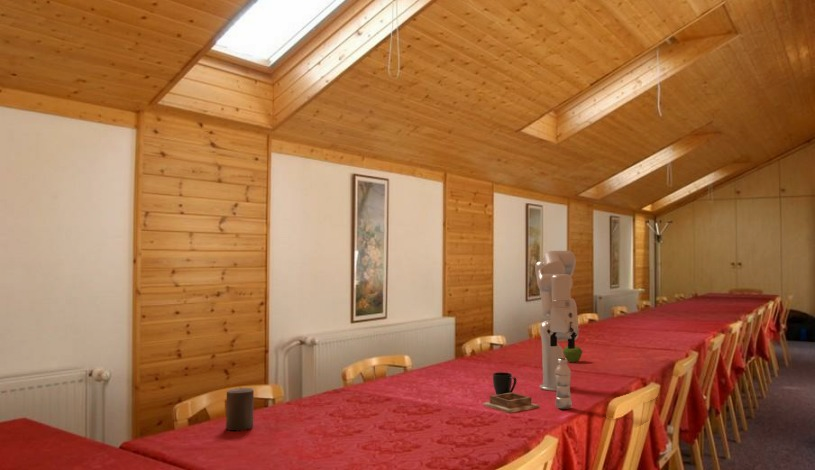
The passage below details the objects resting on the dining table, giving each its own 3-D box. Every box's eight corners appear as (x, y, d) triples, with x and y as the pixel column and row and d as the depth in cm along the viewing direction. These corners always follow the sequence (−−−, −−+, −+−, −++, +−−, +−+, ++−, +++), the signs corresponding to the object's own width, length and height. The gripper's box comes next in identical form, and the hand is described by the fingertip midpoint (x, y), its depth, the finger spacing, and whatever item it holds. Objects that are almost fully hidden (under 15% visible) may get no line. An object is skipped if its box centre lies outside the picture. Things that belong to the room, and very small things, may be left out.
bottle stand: (512, 400, 266) (512, 390, 266) (538, 407, 252) (538, 397, 253) (483, 405, 258) (483, 395, 258) (508, 413, 244) (508, 402, 244)
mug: (508, 399, 267) (508, 377, 268) (489, 395, 277) (489, 373, 277) (522, 397, 272) (521, 375, 272) (502, 392, 282) (502, 371, 282)
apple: (564, 363, 358) (563, 346, 358) (562, 360, 368) (562, 343, 369) (583, 363, 356) (582, 346, 356) (581, 360, 366) (580, 343, 367)
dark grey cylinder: (239, 432, 221) (239, 390, 222) (220, 429, 226) (220, 387, 227) (259, 426, 229) (259, 385, 230) (240, 423, 234) (241, 383, 235)
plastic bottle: (572, 407, 252) (571, 357, 253) (571, 411, 246) (570, 360, 247) (556, 406, 254) (555, 357, 255) (554, 410, 248) (553, 359, 249)
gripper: (584, 305, 246) (585, 348, 245) (552, 303, 261) (553, 344, 260) (570, 306, 242) (571, 350, 241) (539, 304, 257) (540, 346, 256)
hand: (562, 347), depth 251 cm, fingers open, 9 cm apart
